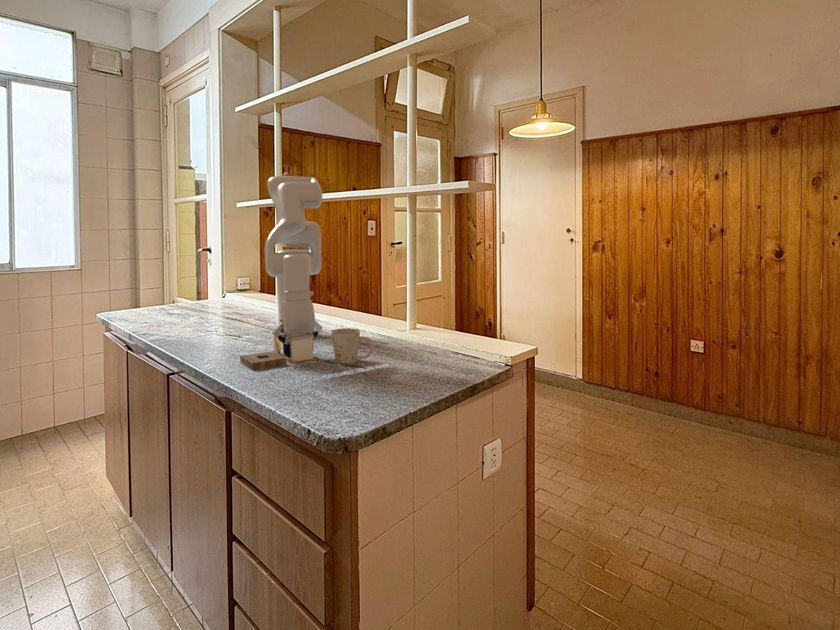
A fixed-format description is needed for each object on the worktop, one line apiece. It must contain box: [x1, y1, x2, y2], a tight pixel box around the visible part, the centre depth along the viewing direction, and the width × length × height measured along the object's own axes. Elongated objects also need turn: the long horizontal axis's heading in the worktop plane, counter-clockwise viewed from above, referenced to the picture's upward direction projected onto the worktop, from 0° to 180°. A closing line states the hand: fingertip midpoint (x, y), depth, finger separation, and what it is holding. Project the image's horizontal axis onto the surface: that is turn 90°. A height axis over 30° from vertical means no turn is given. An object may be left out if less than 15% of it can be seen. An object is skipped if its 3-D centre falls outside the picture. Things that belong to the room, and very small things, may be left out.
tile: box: [283, 355, 321, 365], centre depth 156 cm, size 10×10×6 cm
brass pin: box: [273, 332, 282, 355], centre depth 162 cm, size 2×2×8 cm
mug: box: [330, 328, 375, 364], centre depth 154 cm, size 8×13×10 cm, turn 95°
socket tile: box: [239, 350, 288, 371], centre depth 150 cm, size 10×10×3 cm
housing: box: [283, 333, 314, 362], centre depth 156 cm, size 6×6×7 cm
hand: (298, 354), depth 157 cm, fingers closed on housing, 6 cm apart
